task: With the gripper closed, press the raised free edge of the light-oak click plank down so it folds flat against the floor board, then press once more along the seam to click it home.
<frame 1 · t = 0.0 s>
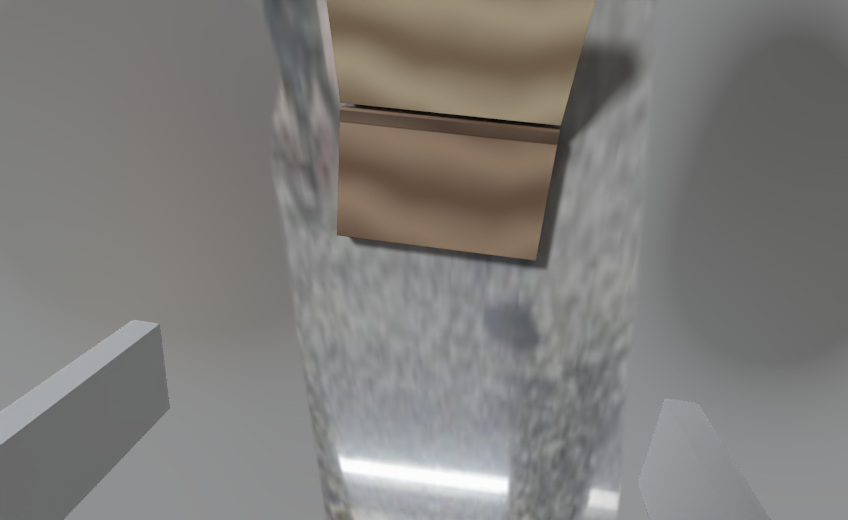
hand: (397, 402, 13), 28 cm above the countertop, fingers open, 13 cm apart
floor board: (442, 181, 39), on the countertop
click plank: (453, 41, 32), point 3 cm above the countertop, hinge at 30.0°
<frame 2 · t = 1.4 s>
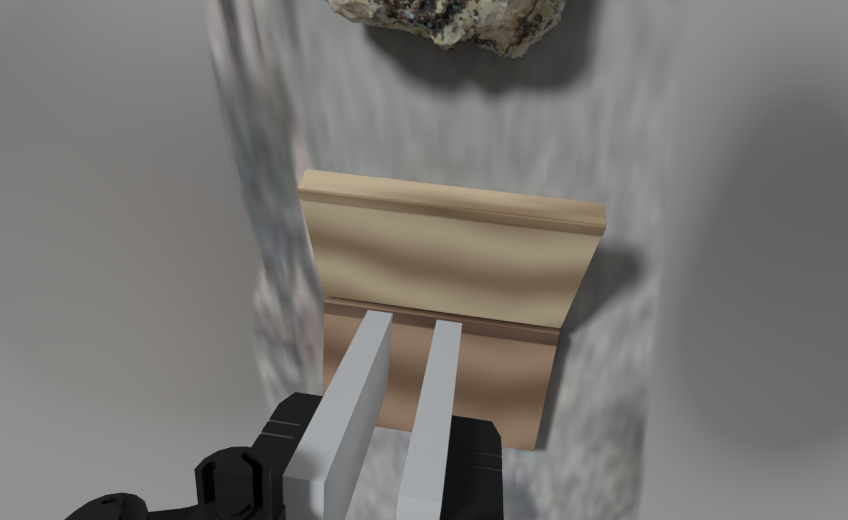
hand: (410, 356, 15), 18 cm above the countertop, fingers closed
floor board: (434, 365, 37), on the countertop
click plank: (445, 256, 30), point 3 cm above the countertop, hinge at 30.0°
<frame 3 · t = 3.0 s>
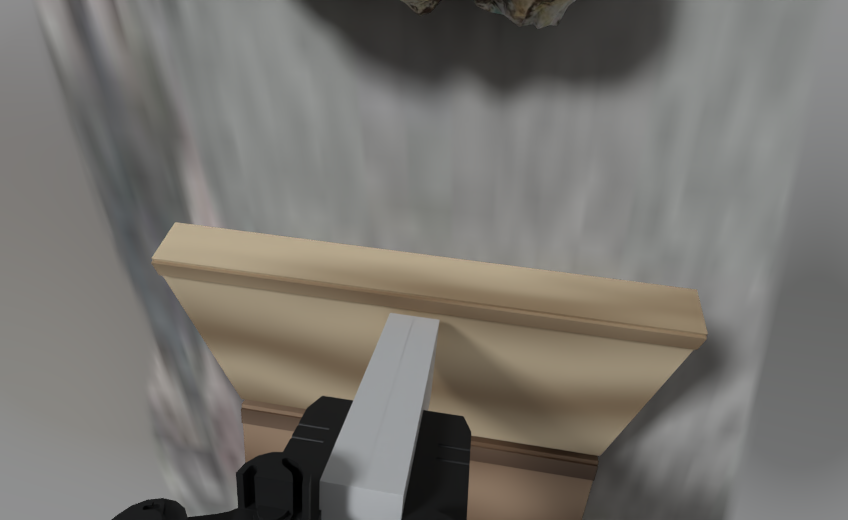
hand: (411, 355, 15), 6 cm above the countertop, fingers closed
floor board: (411, 487, 25), on the countertop
click plank: (418, 357, 18), point 3 cm above the countertop, hinge at 28.4°, touching gripper
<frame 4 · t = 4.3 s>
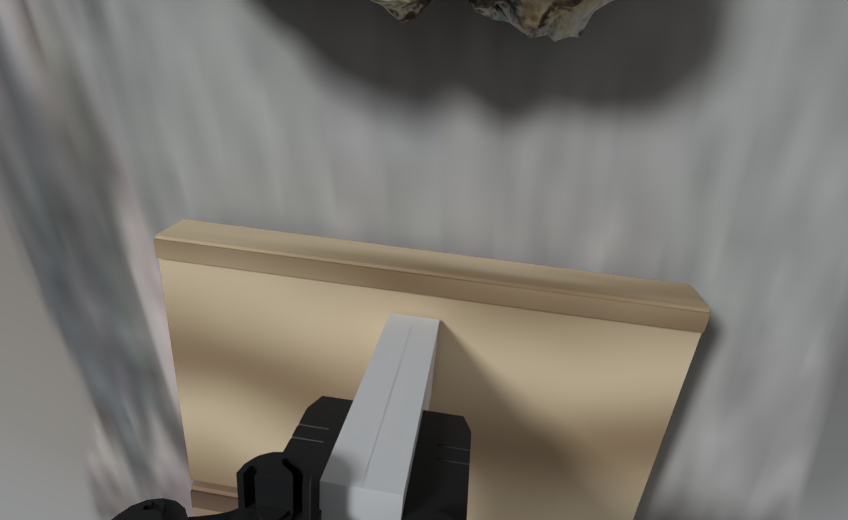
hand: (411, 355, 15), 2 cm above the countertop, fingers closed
click plank: (410, 394, 17), point 1 cm above the countertop, hinge at 2.8°, touching gripper
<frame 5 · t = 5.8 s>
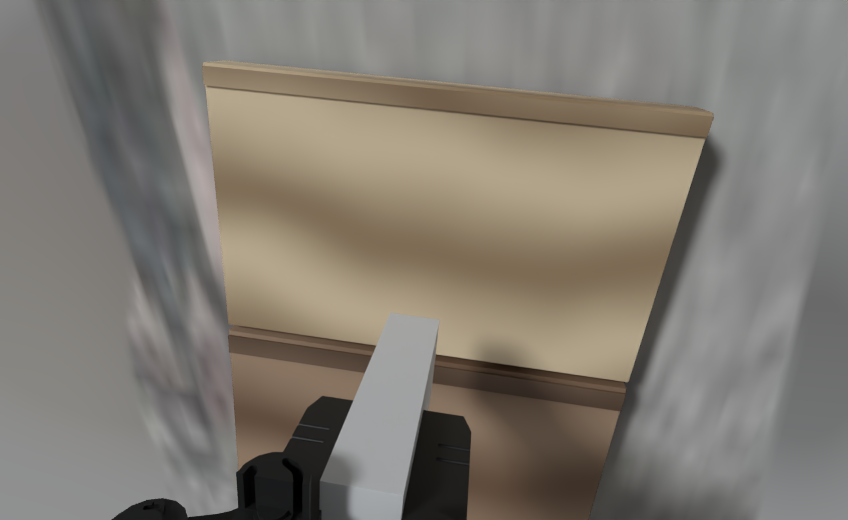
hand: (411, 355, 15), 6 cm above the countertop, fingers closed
floor board: (416, 431, 23), on the countertop
click plank: (434, 228, 18), point 1 cm above the countertop, hinge at 2.8°
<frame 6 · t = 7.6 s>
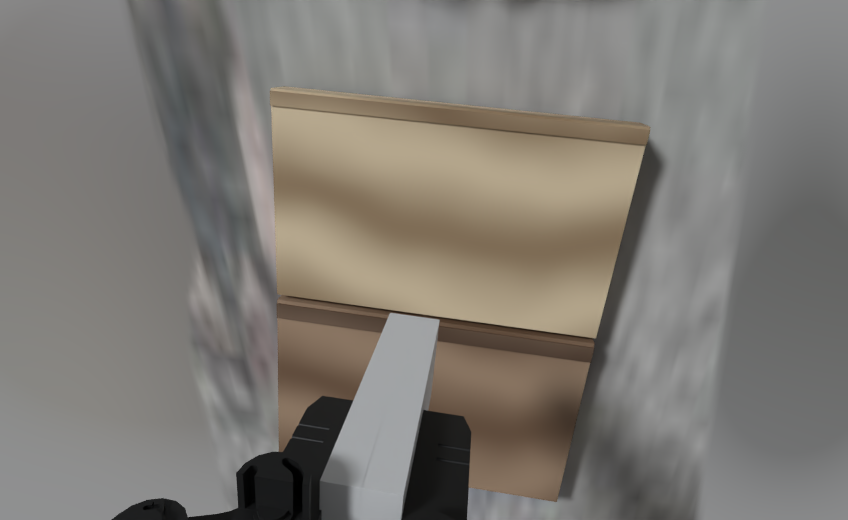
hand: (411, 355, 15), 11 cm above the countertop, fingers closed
floor board: (426, 387, 28), on the countertop
click plank: (443, 215, 23), point 1 cm above the countertop, hinge at 2.8°
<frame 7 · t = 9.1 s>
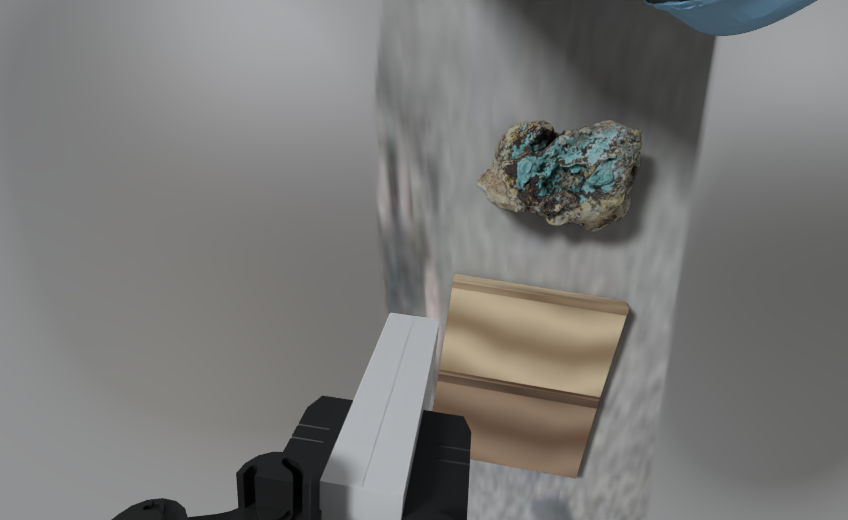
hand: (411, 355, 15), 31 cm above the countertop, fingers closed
floor board: (508, 416, 52), on the countertop
mineral specimen: (553, 169, 44), on the countertop
click plank: (528, 336, 48), point 1 cm above the countertop, hinge at 2.8°
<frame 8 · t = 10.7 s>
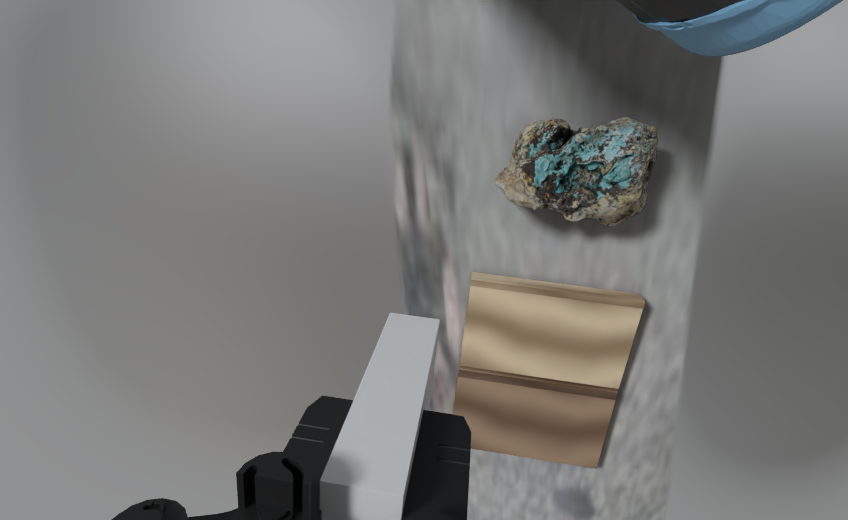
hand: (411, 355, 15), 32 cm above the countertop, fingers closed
floor board: (528, 409, 53), on the countertop
mineral specimen: (569, 166, 44), on the countertop
click plank: (546, 331, 49), point 1 cm above the countertop, hinge at 2.8°
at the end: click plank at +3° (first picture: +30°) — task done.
